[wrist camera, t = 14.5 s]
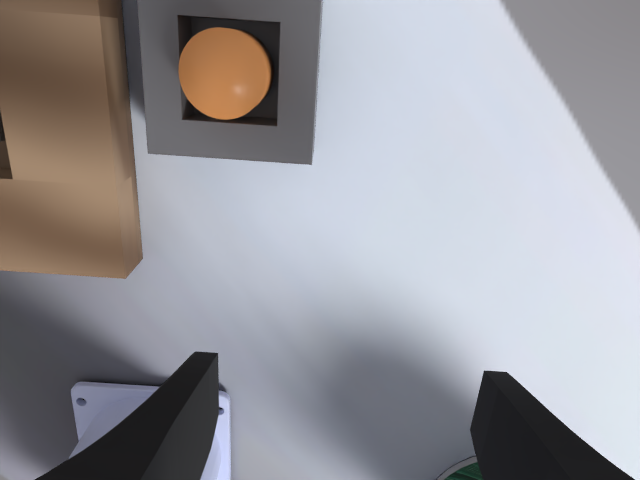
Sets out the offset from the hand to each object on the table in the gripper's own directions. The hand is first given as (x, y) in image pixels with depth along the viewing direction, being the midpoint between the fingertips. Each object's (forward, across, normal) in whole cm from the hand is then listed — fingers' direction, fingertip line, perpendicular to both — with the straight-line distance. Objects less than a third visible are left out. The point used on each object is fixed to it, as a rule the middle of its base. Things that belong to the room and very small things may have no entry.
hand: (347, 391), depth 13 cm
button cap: (+8, +4, -7) cm, 12 cm away
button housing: (+9, +4, -8) cm, 13 cm away
